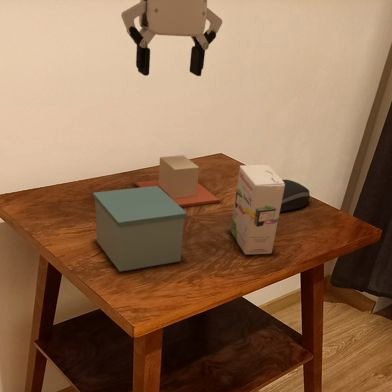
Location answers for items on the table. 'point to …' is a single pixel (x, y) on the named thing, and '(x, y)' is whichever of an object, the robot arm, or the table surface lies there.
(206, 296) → the table surface
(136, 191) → the storage box
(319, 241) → the table surface
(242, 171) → the ink box
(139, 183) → the mat
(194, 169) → the small box
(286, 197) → the computer mouse
